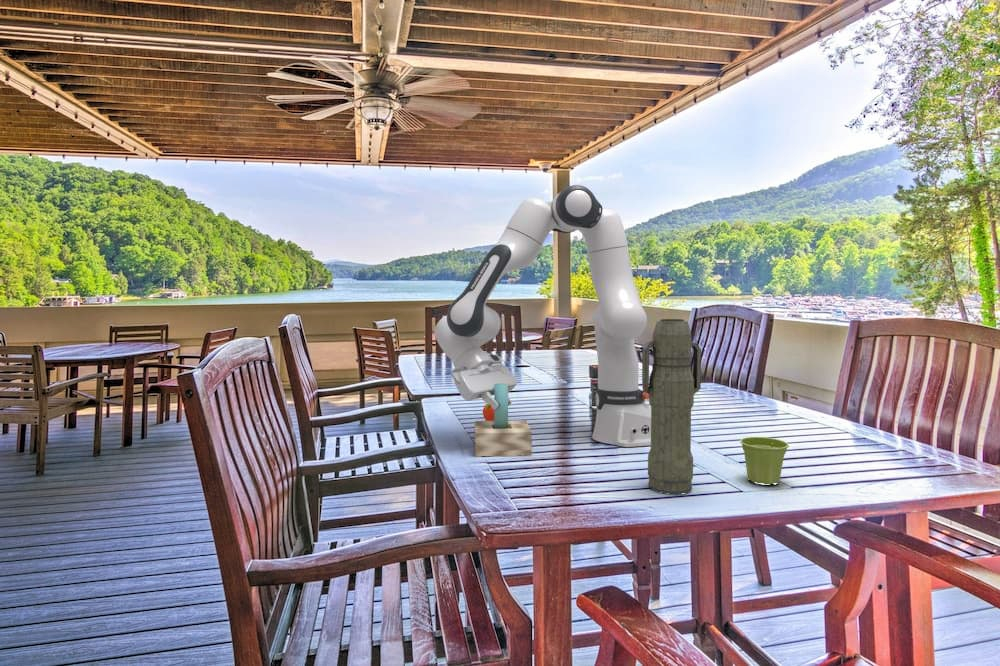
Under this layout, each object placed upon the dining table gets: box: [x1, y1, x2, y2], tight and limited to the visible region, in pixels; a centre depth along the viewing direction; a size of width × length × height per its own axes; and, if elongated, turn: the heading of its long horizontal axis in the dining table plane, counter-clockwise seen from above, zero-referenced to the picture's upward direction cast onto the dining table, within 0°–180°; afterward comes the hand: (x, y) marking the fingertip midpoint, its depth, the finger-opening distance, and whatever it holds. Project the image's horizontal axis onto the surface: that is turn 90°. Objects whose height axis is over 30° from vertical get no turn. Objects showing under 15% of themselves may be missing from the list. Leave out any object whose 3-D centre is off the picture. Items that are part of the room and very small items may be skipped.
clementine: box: [482, 403, 494, 421], centre depth 179 cm, size 8×7×7 cm
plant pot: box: [739, 436, 790, 484], centre depth 120 cm, size 9×9×9 cm
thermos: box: [641, 318, 702, 495], centre depth 116 cm, size 9×12×35 cm
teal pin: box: [493, 384, 509, 429], centre depth 148 cm, size 4×4×12 cm
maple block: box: [474, 419, 533, 458], centre depth 148 cm, size 14×14×6 cm
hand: (503, 406), depth 147 cm, fingers closed on teal pin, 4 cm apart
